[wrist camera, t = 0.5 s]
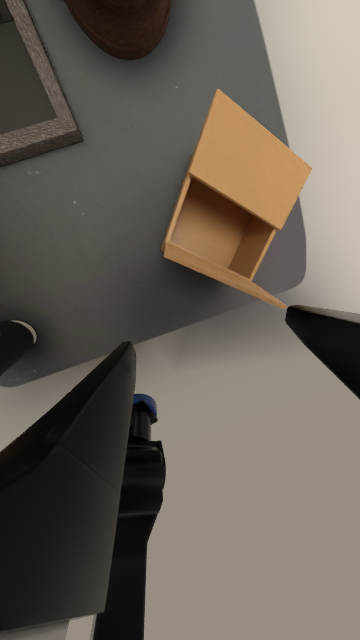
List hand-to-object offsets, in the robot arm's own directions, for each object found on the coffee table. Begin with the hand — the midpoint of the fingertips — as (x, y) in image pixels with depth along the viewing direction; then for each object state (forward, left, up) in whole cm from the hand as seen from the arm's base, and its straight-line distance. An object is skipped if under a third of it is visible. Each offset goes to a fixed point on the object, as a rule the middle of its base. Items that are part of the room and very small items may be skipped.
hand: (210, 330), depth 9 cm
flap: (+1, -5, -7) cm, 9 cm away
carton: (+6, -10, -19) cm, 22 cm away
